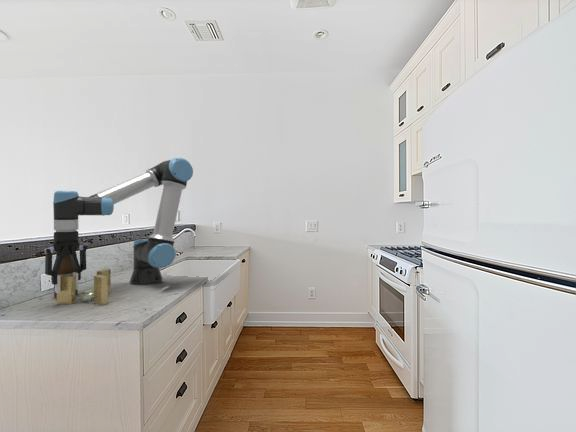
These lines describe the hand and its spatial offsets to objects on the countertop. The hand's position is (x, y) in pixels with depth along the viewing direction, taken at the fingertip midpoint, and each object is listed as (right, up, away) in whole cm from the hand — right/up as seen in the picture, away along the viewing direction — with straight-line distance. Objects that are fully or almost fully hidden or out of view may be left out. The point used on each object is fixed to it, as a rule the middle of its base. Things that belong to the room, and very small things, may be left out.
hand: (66, 290), depth 109 cm
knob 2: (+7, -5, +12) cm, 14 cm away
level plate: (+7, -6, +4) cm, 10 cm away
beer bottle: (-7, -6, +9) cm, 13 cm away
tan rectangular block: (0, -5, 0) cm, 5 cm away
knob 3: (+13, -5, 0) cm, 14 cm away
